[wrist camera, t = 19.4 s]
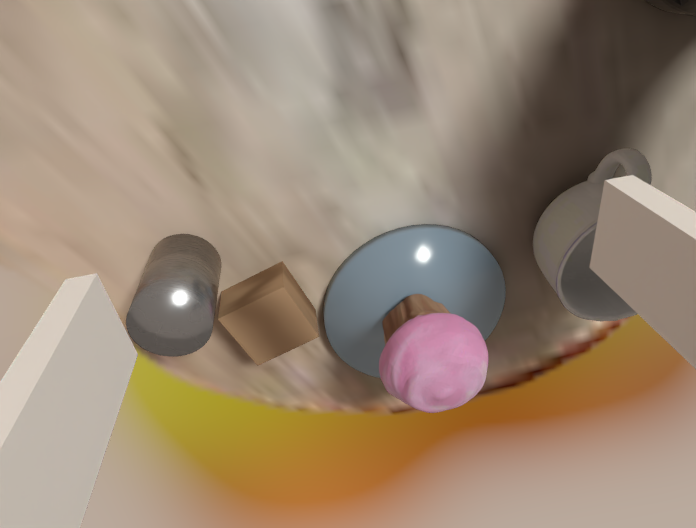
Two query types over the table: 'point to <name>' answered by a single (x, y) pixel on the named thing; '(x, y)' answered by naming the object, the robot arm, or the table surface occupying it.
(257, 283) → the walnut block
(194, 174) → the table surface
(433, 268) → the plate
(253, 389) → the table surface
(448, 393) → the cupcake
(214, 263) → the metal tin
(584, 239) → the teacup
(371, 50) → the table surface
